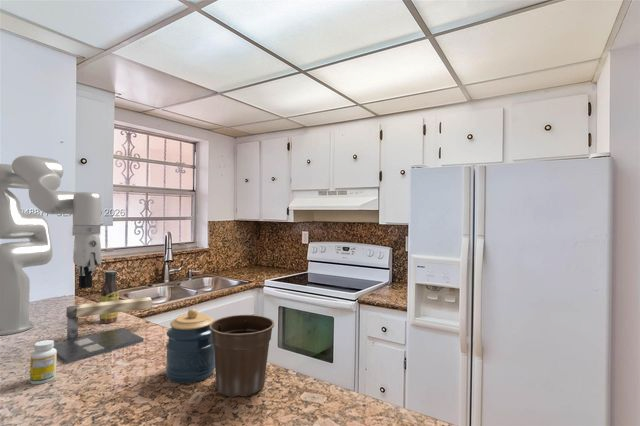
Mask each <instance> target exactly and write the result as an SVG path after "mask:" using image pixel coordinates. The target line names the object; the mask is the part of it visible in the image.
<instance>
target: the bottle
mask: <svg viewBox="0 0 640 426" xmlns="http://www.w3.org/2000/svg"><path fill="white" fill-rule="evenodd" d="M117 273H118V271H117V270H106V271H104V276H105V277H104V284H103V285H102V287H101V289H100V300H99V301H100V302H109V301H118V300H120V299H119V298H120V297H119V296H120V290H119V287H118V284H117ZM98 316H99V317H98V318H99V322H100V323H101V324H111V323H115V322H117V321H118V317H119V312H115V313H107V314H99V315H98Z"/></svg>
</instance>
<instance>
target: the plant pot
mask: <svg viewBox="0 0 640 426" xmlns="http://www.w3.org/2000/svg"><path fill="white" fill-rule="evenodd" d="M274 327H275V321H274V320H273V319H271V318H270V317H267V316H262V315H257V314H235V315H230V316H229V315H228V316H224V317H220V318H217V319H215V320H214V321H213V322H212V323H211V324H210V330H211V331H212V342H213V344H214V353H215V370H214V372H215V384H216V385H215V387H216V388H215V389H216V390H217V392H218V393H219V394H222V395H223V396H225V397H227V396H228V397H232V398H235V397H236V396H241V397H247V396H250V395H251V394H252V395H254V394H256V393H258V392H260V391H261V390H262V389H264V386H265V382H266V373H267V364H268V363H267V362H268V355H269V347H270V341H271V339H272V331H273V328H274Z"/></svg>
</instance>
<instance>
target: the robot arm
mask: <svg viewBox="0 0 640 426" xmlns="http://www.w3.org/2000/svg"><path fill="white" fill-rule="evenodd" d="M63 176H64V166H63V165H62V163H60V162H59V161H58V160H56V159H54V158H48V157H42V156H37V155H36V156H35V155H20V156H18V157H16V158H15V159H13V160H12V162H11V164H9V163H0V240H20V239H21V240H23V239H28V240H29V241H11V242H4V243H0V336H5V335H13V334H17V333H21V332H25V330H26V331H29V330H31V329H32V328H33V327H34V326H35V323H34V322H33V321H31V320H30V290H31V289H30V288H31V287H30V282H31V281H30V277H29V275H28V274H27V273H26V272H25V271H24V270H23V268H28V267H29V268H30V267H37V266H44V265H47V264H48V263H50V261H52V258H53V245H52V239H51V234H50V228H49V227H50V226H49V225H48V224H49V223H48V222H47V220H46V218H45V217H44V216H43V215H41V214H39V213H24V212H23V211H22V208H21V201H20V200H19V198H18V197H17V196H16V195H15V193H13V192H12V191H11V190H9V188H12V189H21V190H22V189H24V190H28V198H29V200H30V202H31V204H33V205H34V207H36V208H37V209H38V210H39V211H41V212H42V213H45V214H47V215H69V216H71V215H72V227H71V228H72V230H71V231H72V232H71V236H74V241H73V249H72V251H73V253H72V255H73V256H72V258H73V260H72V261H73V263H74V264H75V265H76V266H77V268H78V288H79V289H88V288H92V286H93V274H94V271H95V269H96V267H95V266H97V267H98V266H101V264H102V249H101V247H102V246H101V238H100V236H101V225H102V224H101V222H102V220H101V219H102V217H101V216H102V196H101V194H100V193H97V192H90V191H89V192H87V191H86V192H85V191H84V192H83V191H82V192H81V191H80V192H79V191H78V192H77V191H67V190H66V191H65V190H57V189H59V188H60V185H61V183H62V178H63ZM30 328H31V329H30ZM28 329H29V330H28Z"/></svg>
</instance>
